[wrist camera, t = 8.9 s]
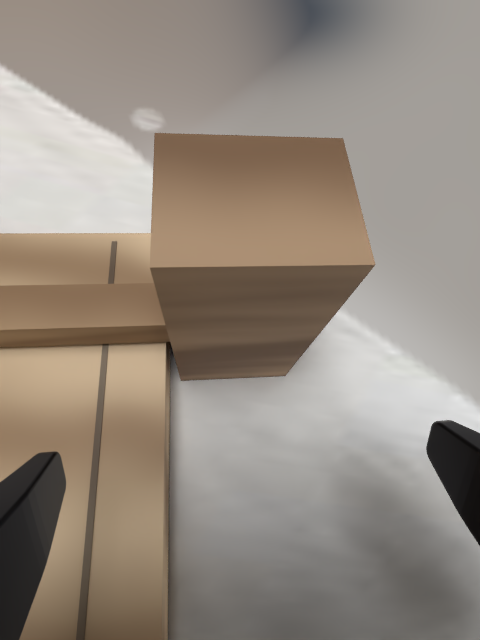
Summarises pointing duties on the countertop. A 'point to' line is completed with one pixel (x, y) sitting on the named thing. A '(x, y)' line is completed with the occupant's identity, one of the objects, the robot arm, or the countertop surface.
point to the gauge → (221, 260)
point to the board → (93, 447)
